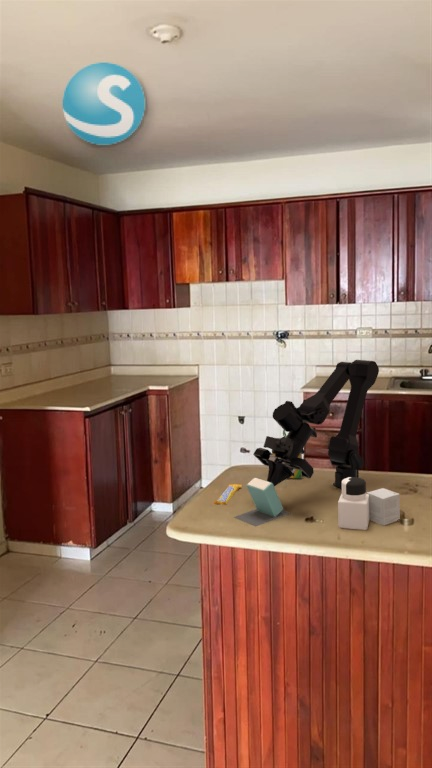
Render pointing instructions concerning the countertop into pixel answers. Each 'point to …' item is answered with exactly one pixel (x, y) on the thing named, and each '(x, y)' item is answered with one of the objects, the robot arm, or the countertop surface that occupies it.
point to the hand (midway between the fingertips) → (267, 488)
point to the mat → (259, 517)
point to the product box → (384, 506)
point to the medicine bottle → (353, 504)
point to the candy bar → (228, 494)
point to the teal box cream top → (264, 497)
